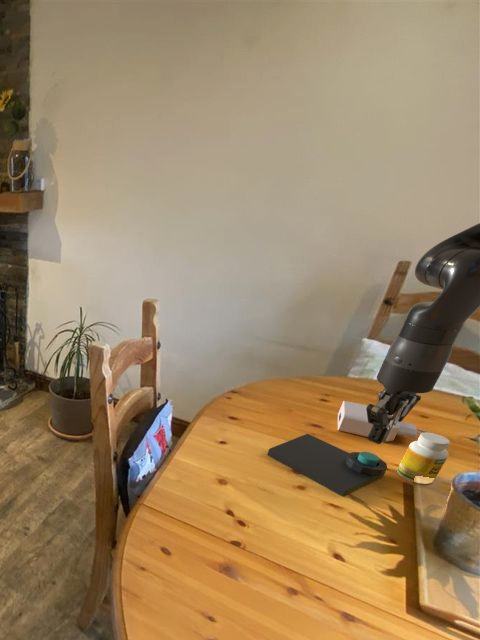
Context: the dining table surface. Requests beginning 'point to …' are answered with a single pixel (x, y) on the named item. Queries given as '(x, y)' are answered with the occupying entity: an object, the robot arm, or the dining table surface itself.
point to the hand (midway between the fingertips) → (375, 440)
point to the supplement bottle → (424, 457)
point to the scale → (327, 464)
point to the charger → (356, 422)
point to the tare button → (368, 458)
